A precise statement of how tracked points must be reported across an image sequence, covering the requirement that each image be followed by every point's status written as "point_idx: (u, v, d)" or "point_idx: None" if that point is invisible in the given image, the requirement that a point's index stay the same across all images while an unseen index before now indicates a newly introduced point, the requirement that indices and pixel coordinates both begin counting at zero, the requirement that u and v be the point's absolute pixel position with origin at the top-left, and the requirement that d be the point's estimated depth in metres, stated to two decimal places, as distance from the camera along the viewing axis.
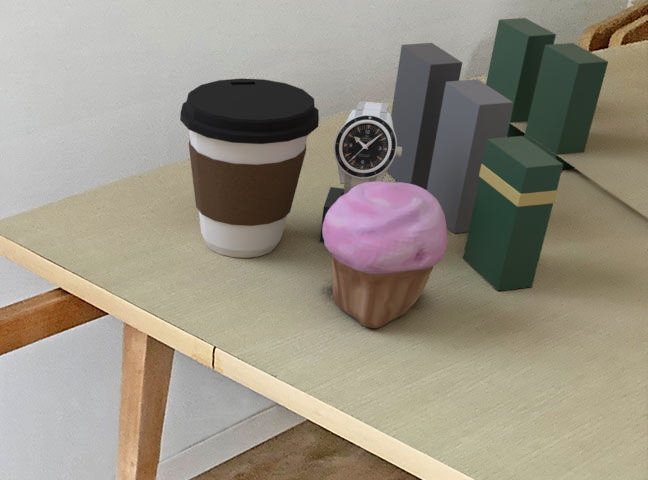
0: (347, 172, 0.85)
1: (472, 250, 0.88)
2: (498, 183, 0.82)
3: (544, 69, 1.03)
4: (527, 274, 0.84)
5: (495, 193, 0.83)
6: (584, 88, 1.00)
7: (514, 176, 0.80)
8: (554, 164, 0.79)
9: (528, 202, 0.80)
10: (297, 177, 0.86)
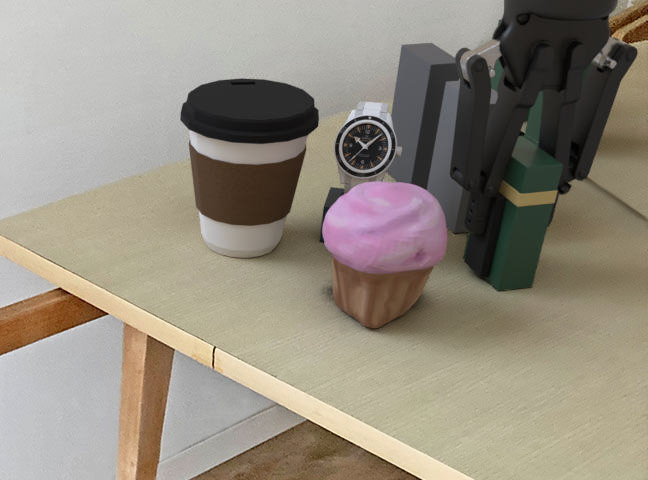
0: (347, 172, 0.85)
1: None
2: None
3: None
4: (527, 274, 0.84)
5: None
6: None
7: (514, 176, 0.80)
8: (554, 164, 0.79)
9: (528, 202, 0.80)
10: (297, 177, 0.86)
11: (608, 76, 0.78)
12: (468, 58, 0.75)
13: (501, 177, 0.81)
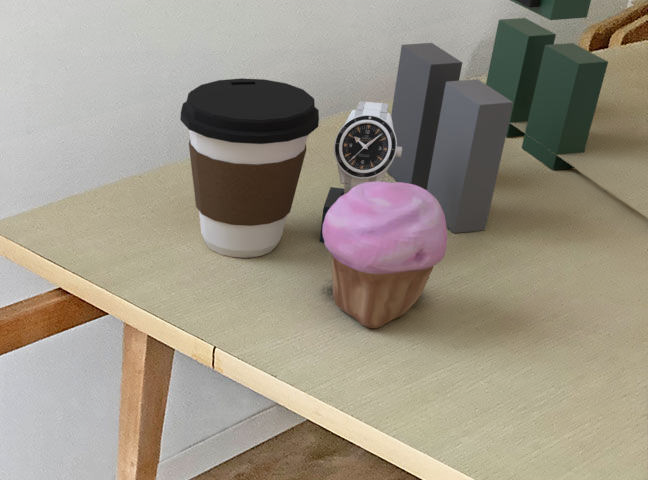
0: (347, 172, 0.85)
1: None
2: None
3: (544, 69, 1.03)
4: (582, 0, 0.77)
5: None
6: (584, 88, 1.00)
7: None
8: None
9: None
10: (297, 177, 0.86)
11: None
12: None
13: None
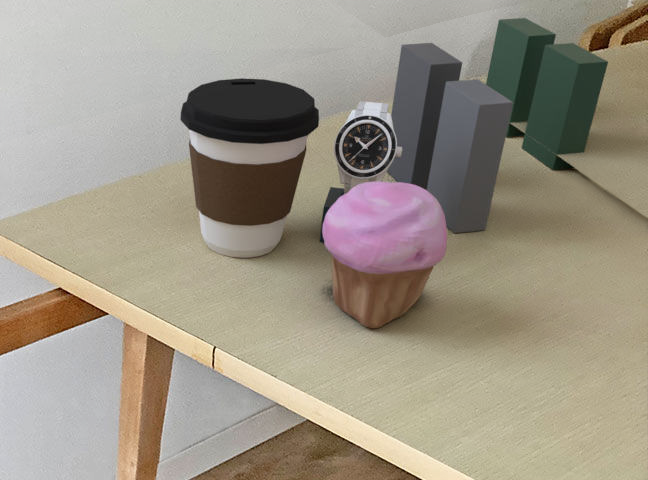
0: (347, 172, 0.85)
1: None
2: None
3: (544, 69, 1.03)
4: None
5: None
6: (584, 88, 1.00)
7: None
8: None
9: None
10: (297, 177, 0.86)
11: None
12: None
13: None
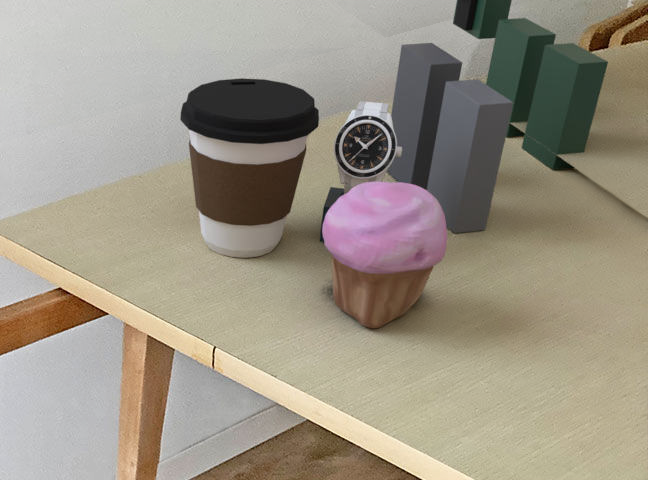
0: (347, 172, 0.85)
1: None
2: None
3: (544, 69, 1.03)
4: None
5: None
6: (584, 88, 1.00)
7: None
8: None
9: None
10: (297, 177, 0.86)
11: None
12: None
13: None
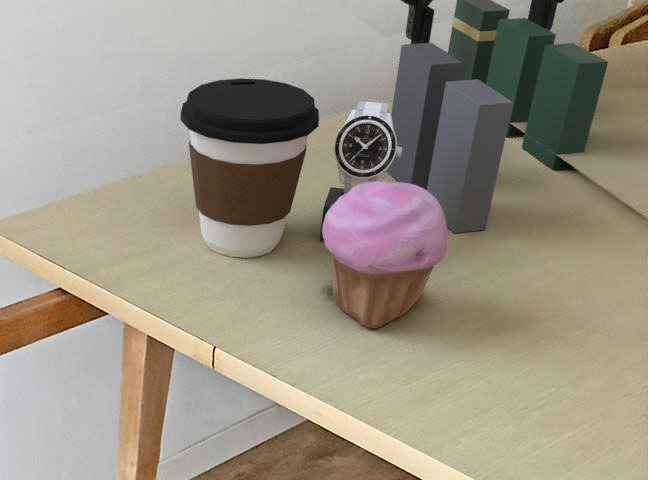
0: (347, 172, 0.85)
1: None
2: (465, 27, 1.16)
3: (544, 69, 1.03)
4: None
5: (463, 35, 1.16)
6: (584, 88, 1.00)
7: (475, 19, 1.14)
8: (503, 9, 1.12)
9: (485, 38, 1.14)
10: (297, 177, 0.86)
11: None
12: None
13: None
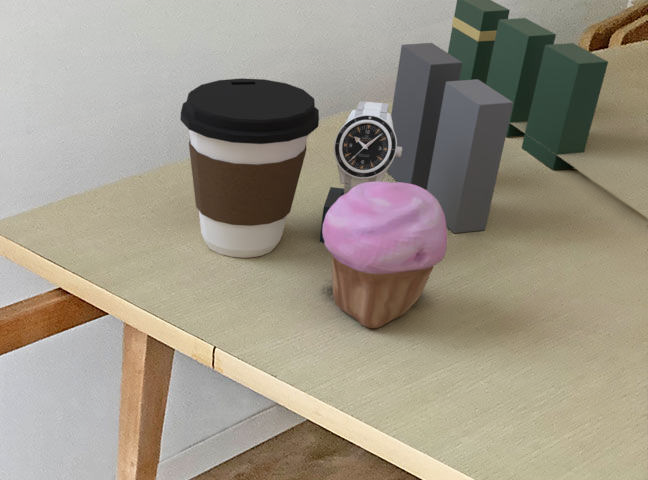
0: (347, 172, 0.85)
1: None
2: (465, 27, 1.16)
3: (544, 69, 1.03)
4: None
5: (463, 35, 1.16)
6: (584, 88, 1.00)
7: (475, 19, 1.14)
8: (503, 9, 1.12)
9: (485, 38, 1.14)
10: (297, 177, 0.86)
11: None
12: None
13: None
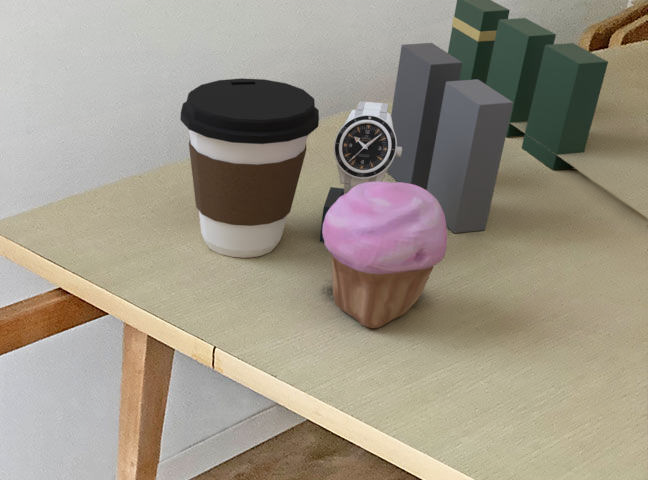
0: (347, 172, 0.85)
1: None
2: (465, 27, 1.16)
3: (544, 69, 1.03)
4: None
5: (463, 35, 1.16)
6: (584, 88, 1.00)
7: (475, 19, 1.14)
8: (503, 10, 1.12)
9: (485, 38, 1.14)
10: (297, 177, 0.86)
11: None
12: None
13: None
